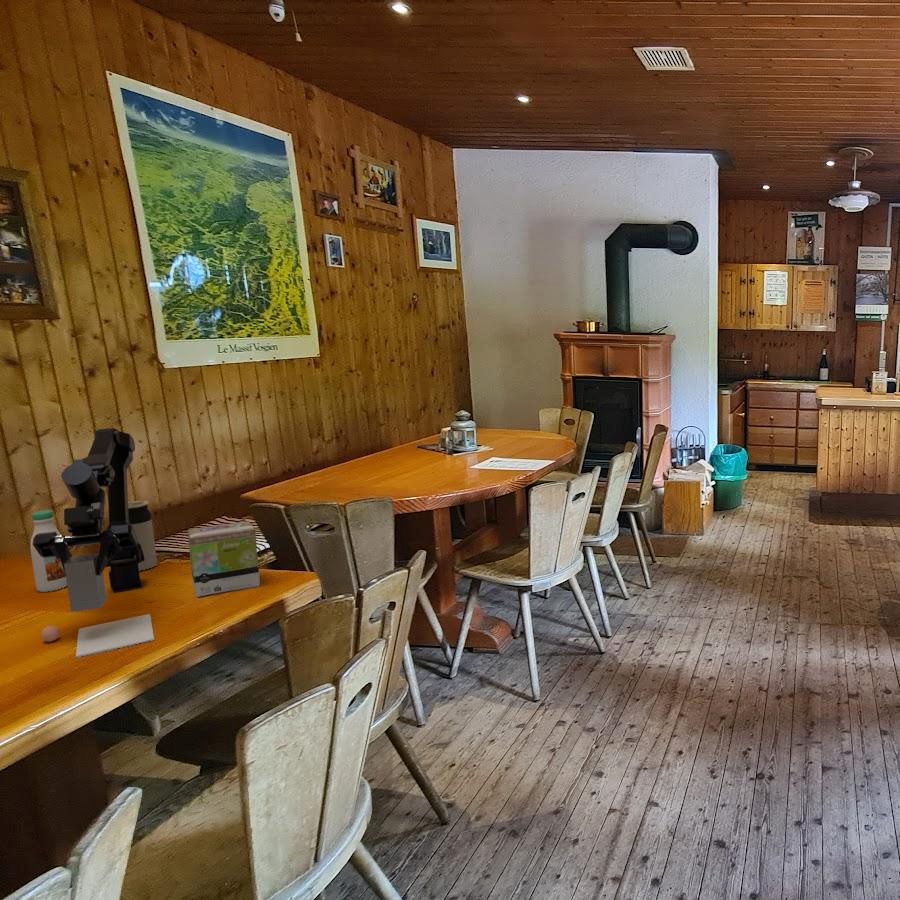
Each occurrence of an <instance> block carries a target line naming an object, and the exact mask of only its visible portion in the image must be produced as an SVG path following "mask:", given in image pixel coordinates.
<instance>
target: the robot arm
mask: <svg viewBox="0 0 900 900" xmlns="http://www.w3.org/2000/svg"><path fill="white" fill-rule="evenodd" d="M93 435H94V437H93V438H94V439H93V440H92V441H93V442H92V444H91V446H90V450H89V452H88V454H87V456H85V457H83V458H81V459H80V458H79V459H74V460H73V462H72V464H70V465H68V466H66V468H65V469H64V470H63V471H62V472H61V476H60V477H61V479H62V482H63V483H64V485H65V487H66V489H67V491H68V492H69V494H70V496H71V498H72V499H75V505H74V507H68V508H67V507H66V508H64V509H63V524H64V525H65V526H67V529H66V530H67V532H68V533H69V534H70V533H71V535H69V536H65V535H62V536H58V535H57V533H56V532H47V533H39V534H37V535H35V537H34V538H33V546H34V547H35V549H36V550H37V552H38V553H39V555H40V556H41V557H44V558H46V557H54V556H55V557H56V558H57V559H60V560H61V563H62V566H63V569H64V573H65V568H64V563H65V562H66V561H67V560H68V559H69V558H71V557H72V556H73V555H72V554H73V553H71V551H70V550H69V549H70V547H73V546H74V547H77V546H85V545H93V544H94V545H95V544H99V552H98V553H99V558H98V563H97V574H98V575H101V573H102V572H103V573H104V570H105V568H110V569H109V570H108V579H109V586H110V589H112V592H113V593H117V592H122V591H128V590H133V588H134V589H137V588H138V587H139V588H141V586H142V580H141V575H140V571H139V567H138V563H140V562H142V561H145V557H144V552H143V549H142V546H141V544H140V543H139V541H138V539H137V534H136V532H135V530H134V528H133V526H132V525H131V524H130V523H129V515H128V502H129V497H128V495H129V494H128V472H127V471H128V468H129V467H130V465H131V463H132V462H133V460H134V452H135V451H136V445H135V443H136V442H135V440H134V438H133V436H132V435H131V434H130V433H128V432H123V431H120V430H119V428H115V427H109V428H99V429H97V430H96V429H95V431H94V433H93ZM103 488H107V499H108V501H107V502H108V504H107V505H108V506H107V507H108V525H107V527H106V529H105V530H104V526H105V523H106V522H105V521H106V520H105V519H104V518H105V509H106V508H105V506H106V505H105V504H106V491H105V490H104V489H103ZM135 556H136V557H135ZM65 576H66V574H65Z"/></svg>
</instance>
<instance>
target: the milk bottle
mask: <svg viewBox="0 0 900 900" xmlns="http://www.w3.org/2000/svg"><path fill="white" fill-rule="evenodd" d="M31 518H32V523H34V526H33V533H32V535H31V539H30V547H29V549H30V556H31V562H32V563H31V564H32V569H33V570H32V571H33V576H34V583H35V588H36V590H37V592H42V593H44V592H45V593H48V591H49V592H53V591H54V590H55V591H59V590H62V589H65V588H67V587H66V586H67V581H66V576H65V573H64V569H63V566H62V563H61V560H60V559H57V558H56V557H55V556H54V557H46V558H44V557H41V556H40V555H39V553H38V552H37V550H36V549H35V547H34V546H33V538H34V537H35V535H37V534H39V533H47V532H56V533H57V535H58V536H63V535H62V534H61V533H60V531H59V530H58V529H57V526H56V525H55V523H54V512H53V510H52V509H51V510H50V509H44V510H39V511H35V512H32V514H31ZM64 587H65V588H64ZM61 588H62V589H61ZM58 589H59V590H58Z"/></svg>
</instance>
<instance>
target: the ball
mask: <svg viewBox="0 0 900 900" xmlns="http://www.w3.org/2000/svg"><path fill="white" fill-rule="evenodd" d="M40 636H41V638H42V640H43V641H46V642H49V643H50V642H53V641H56V640H57V639H58V637H59V636H60V629H59V628H58V627H57V626H55V625H48V626H46V627H44V628H43V629H42V630H41V633H40Z"/></svg>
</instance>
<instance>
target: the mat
mask: <svg viewBox="0 0 900 900" xmlns="http://www.w3.org/2000/svg"><path fill="white" fill-rule="evenodd" d="M152 640H154V641H155V636H154V631H153V625H152V619H151V613H148V614H143V615H138V616H133V617H129V618H128V617H127V618H125V619H117V620H115V621H110V622H105V623H100V624H95V625H90V626H84V627H80V628H78V633H77V642H76V643H77V644H76V650H75V651H76V653H75V658H76V659H79V658H82V656H83V657H87V655H88V656H91V654H92V655H97V654H101V653H106V652H110V651H115V650H118V649H117V648H120V649H123V647H124V648H128V647H127V646H129V647H132V645H133V646H136V645H135V644H138V645H140V644H139V643H142V644H144V643H143V642H147V643H149V642H148V641H151V642H153V641H152ZM114 649H115V650H114ZM105 651H106V652H105Z"/></svg>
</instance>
